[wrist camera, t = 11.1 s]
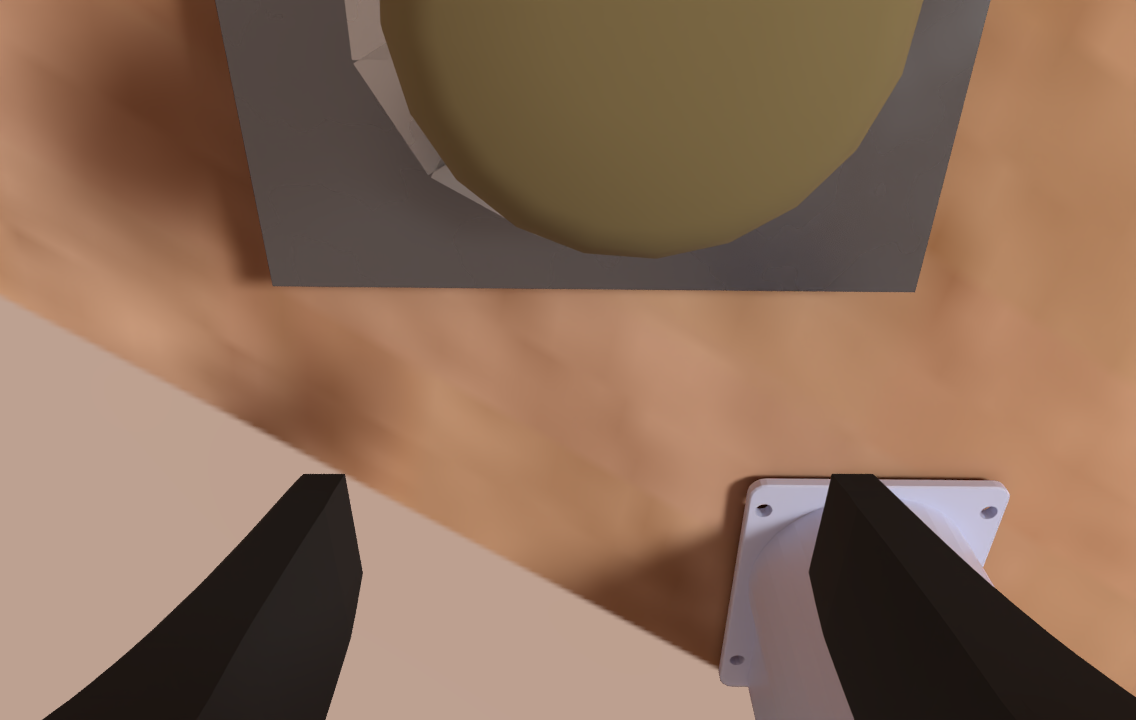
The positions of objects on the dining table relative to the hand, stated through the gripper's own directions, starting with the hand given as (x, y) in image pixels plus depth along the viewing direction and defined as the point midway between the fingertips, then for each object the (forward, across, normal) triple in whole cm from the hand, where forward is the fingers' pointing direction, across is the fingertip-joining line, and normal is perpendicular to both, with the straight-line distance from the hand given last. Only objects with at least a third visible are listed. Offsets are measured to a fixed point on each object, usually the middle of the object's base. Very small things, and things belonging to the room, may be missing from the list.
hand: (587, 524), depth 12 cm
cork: (+9, 0, -7) cm, 12 cm away
